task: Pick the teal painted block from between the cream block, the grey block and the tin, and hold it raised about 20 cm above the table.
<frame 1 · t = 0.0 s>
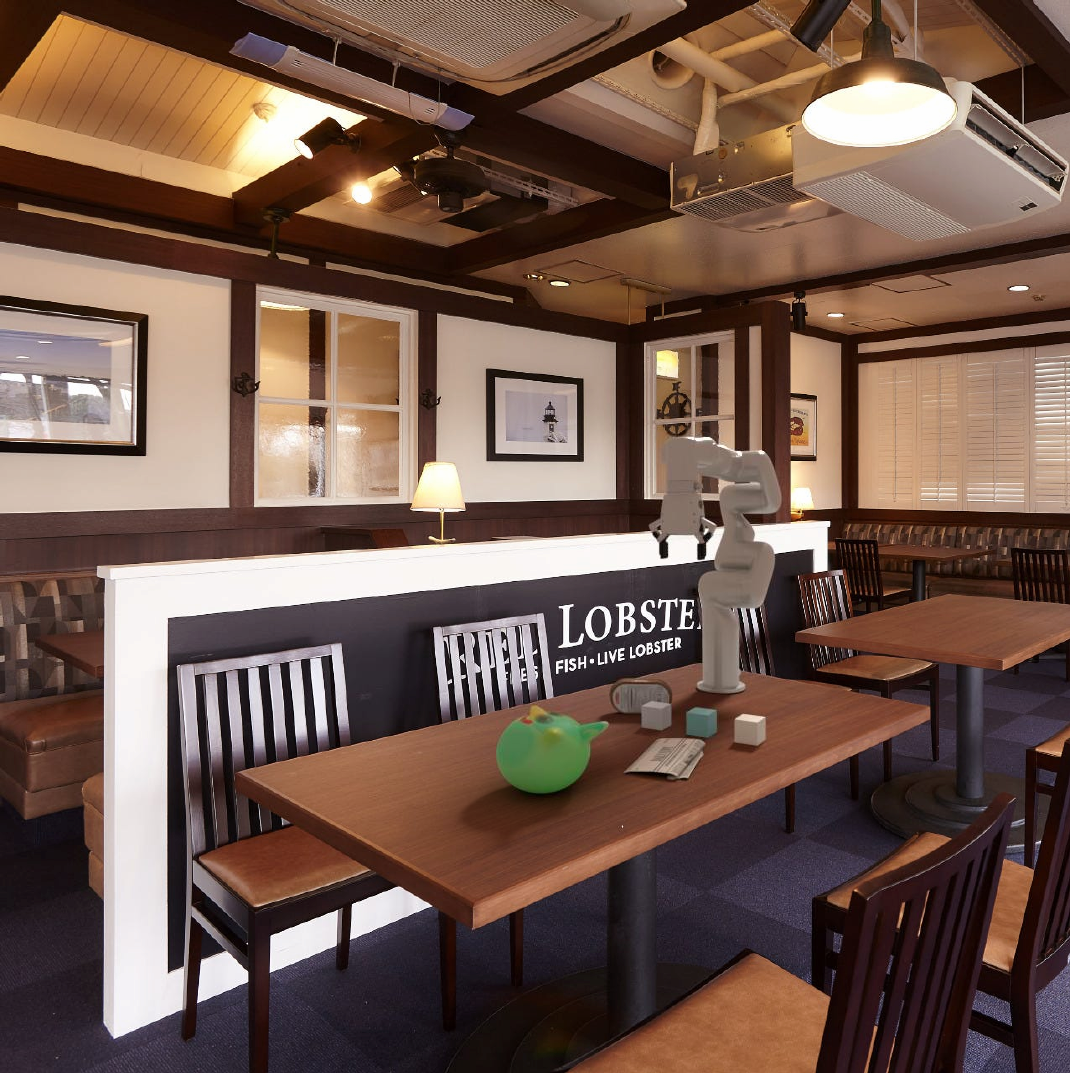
hand: (682, 559, 206), 37 cm above the table, fingers open, 9 cm apart
cream block: (750, 741, 181), on the table
tin: (641, 714, 205), on the table
teal block: (701, 733, 187), on the table
grey block: (656, 726, 194), on the table
toy bird: (546, 790, 154), on the table
newspaper: (671, 764, 170), on the table
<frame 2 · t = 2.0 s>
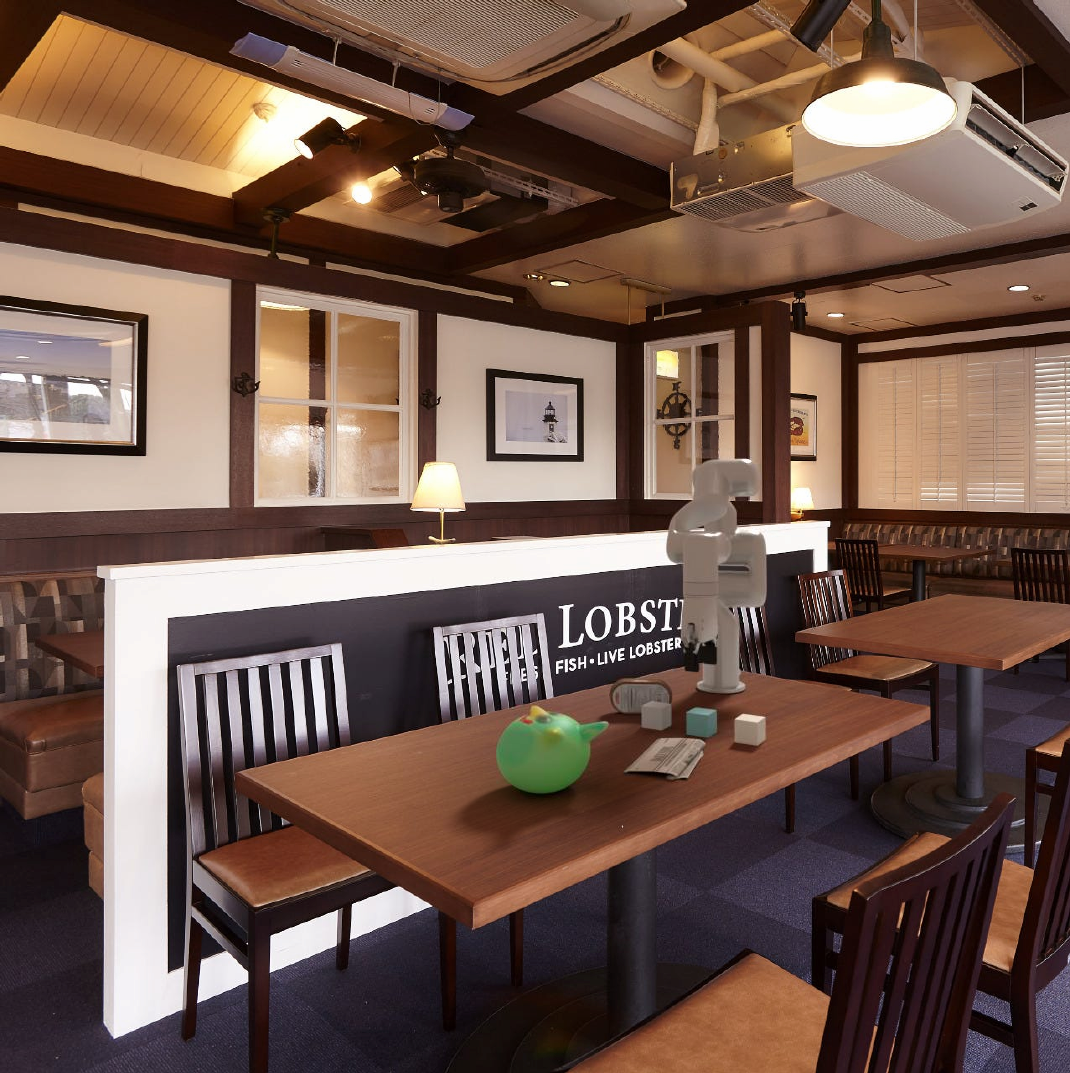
hand: (701, 667, 186), 15 cm above the table, fingers open, 9 cm apart
nothing on the table moved.
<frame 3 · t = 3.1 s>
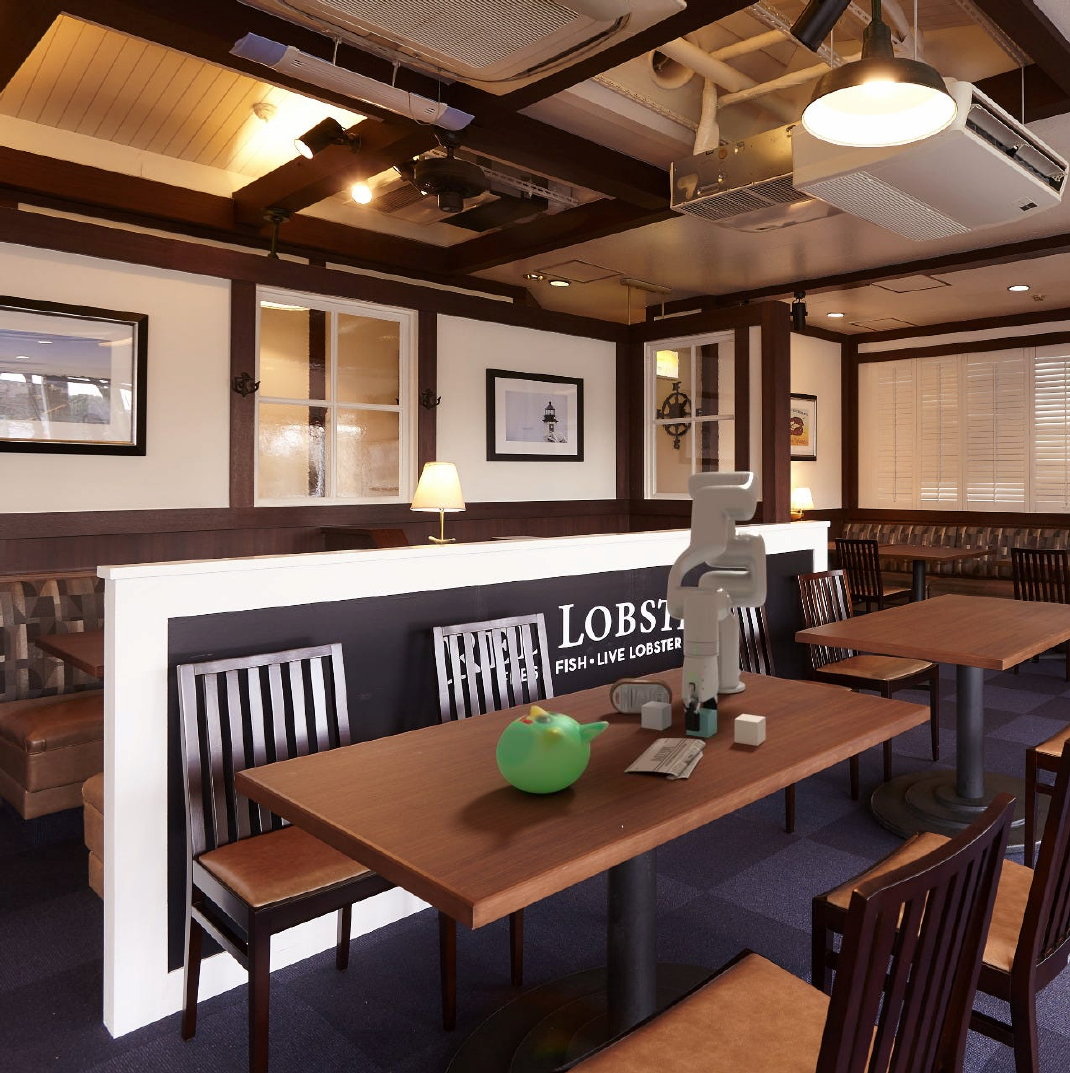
hand: (701, 725, 187), 2 cm above the table, fingers open, 9 cm apart
nothing on the table moved.
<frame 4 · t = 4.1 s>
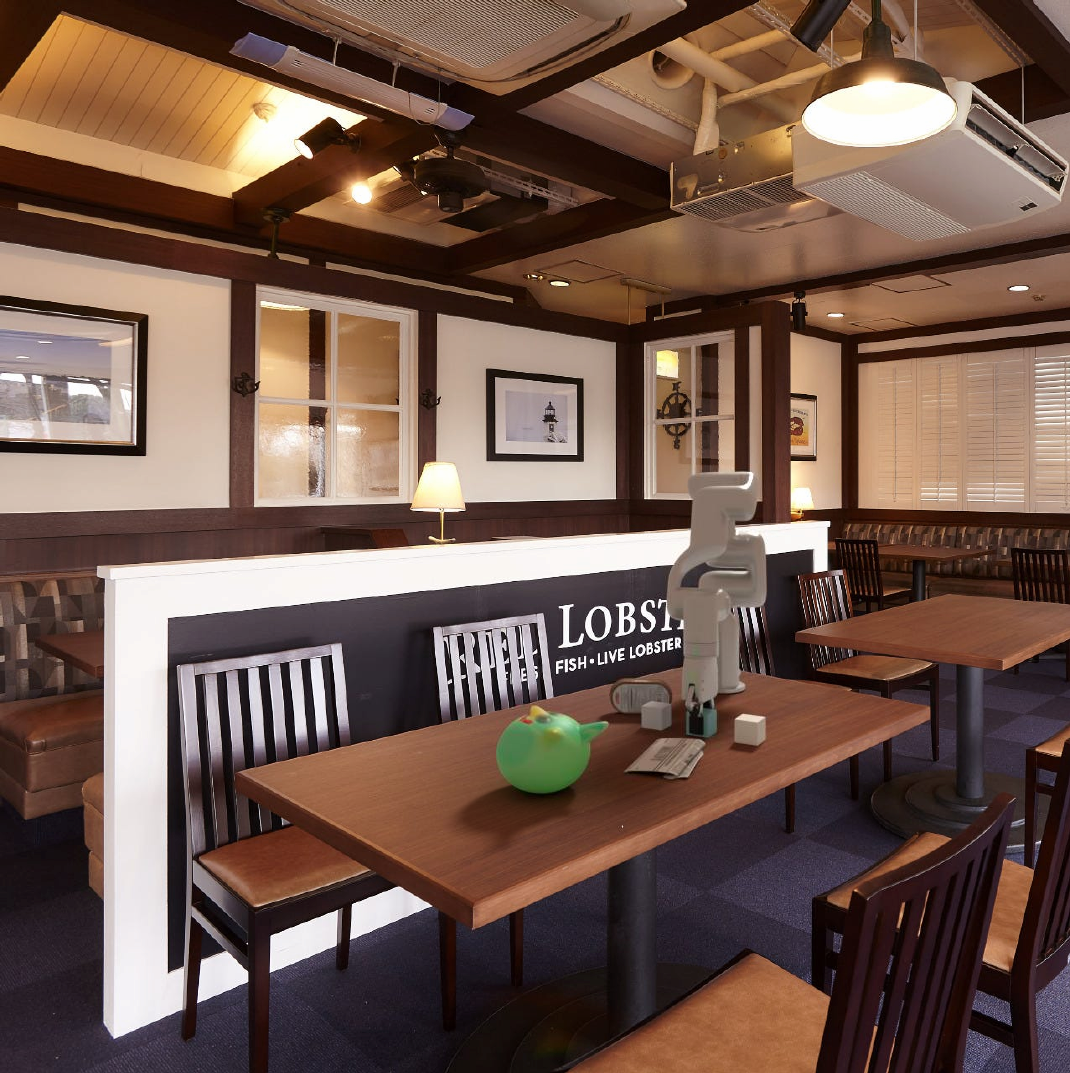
hand: (701, 730, 187), 1 cm above the table, fingers closed on teal block, 4 cm apart
teal block: (701, 733, 187), on the table, touching gripper
everything else where it was.
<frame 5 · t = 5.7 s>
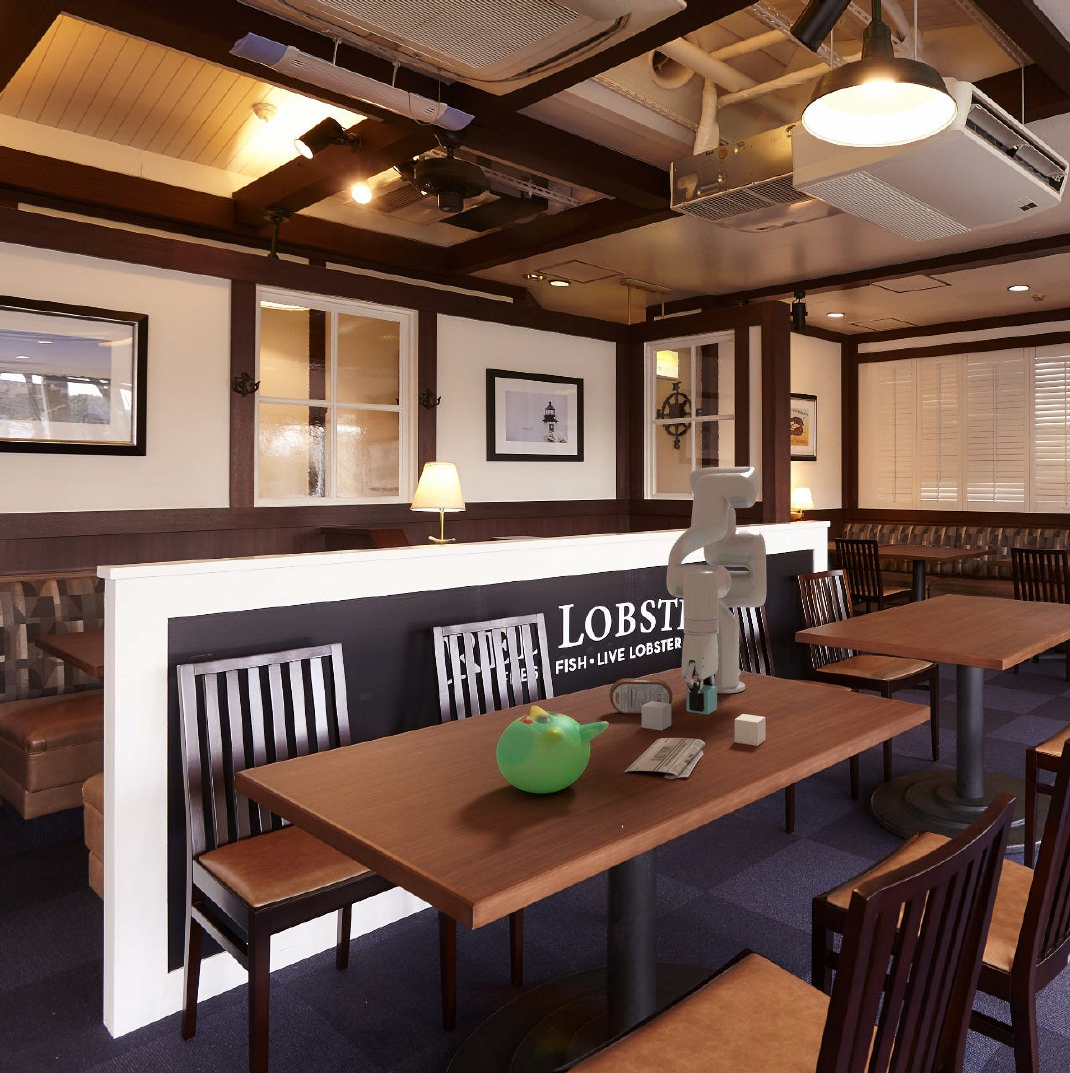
hand: (701, 706, 187), 6 cm above the table, fingers closed on teal block, 4 cm apart
teal block: (701, 710, 188), point 5 cm above the table, touching gripper
everything else where it was.
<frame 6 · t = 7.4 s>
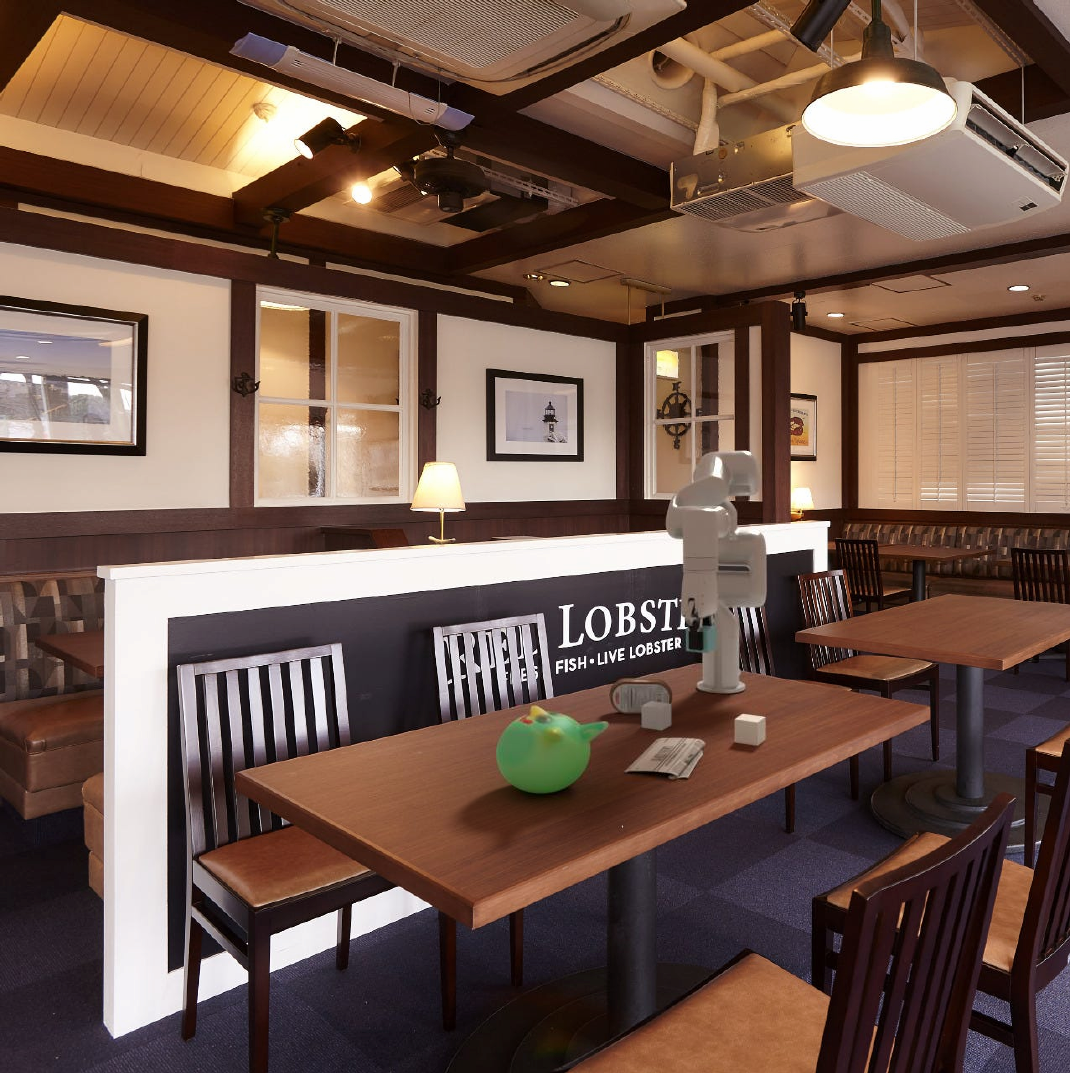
hand: (701, 646, 186), 19 cm above the table, fingers closed on teal block, 4 cm apart
teal block: (701, 650, 187), point 18 cm above the table, touching gripper
everything else where it was.
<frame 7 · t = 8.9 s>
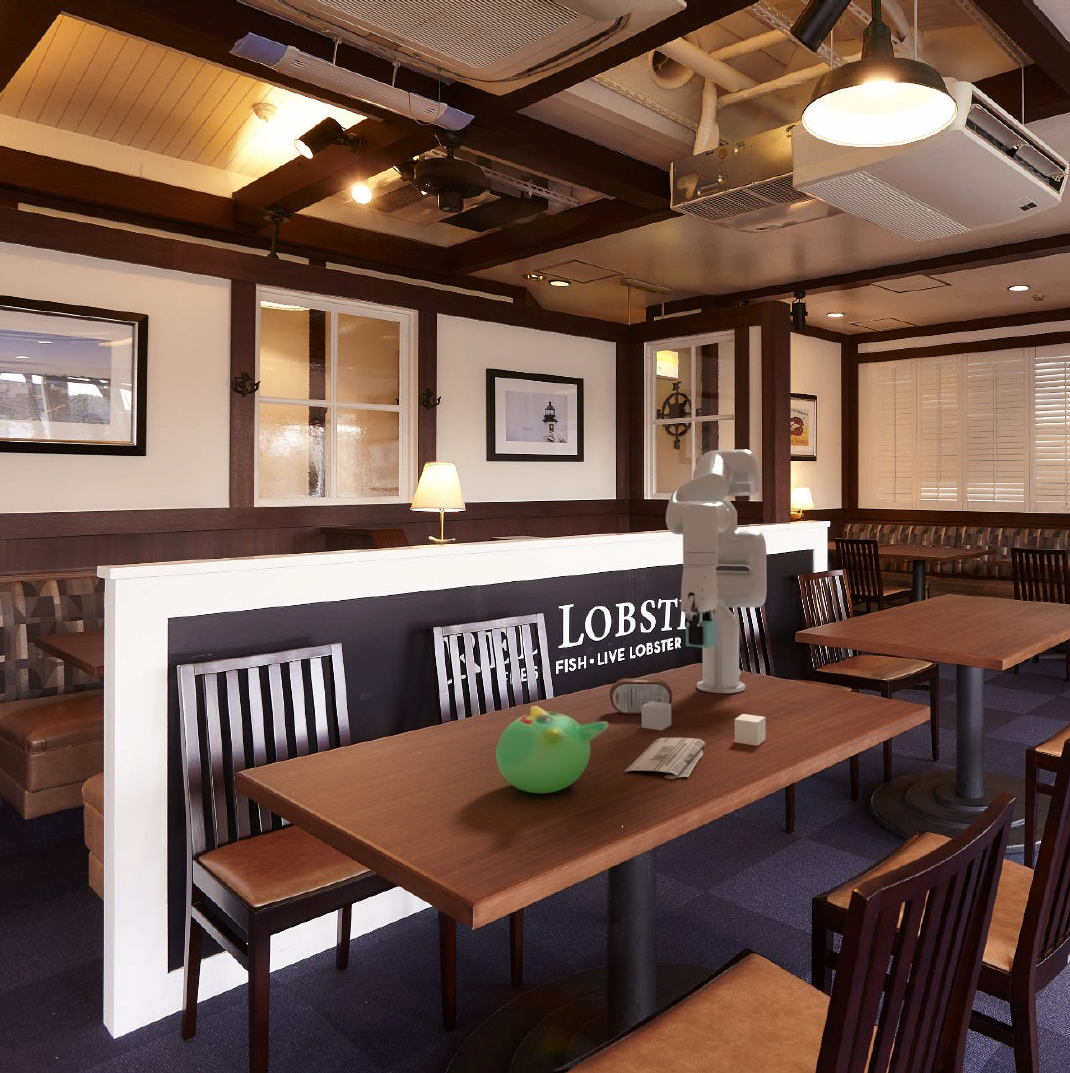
hand: (701, 641, 186), 20 cm above the table, fingers closed on teal block, 4 cm apart
teal block: (701, 645, 186), point 20 cm above the table, touching gripper
everything else where it was.
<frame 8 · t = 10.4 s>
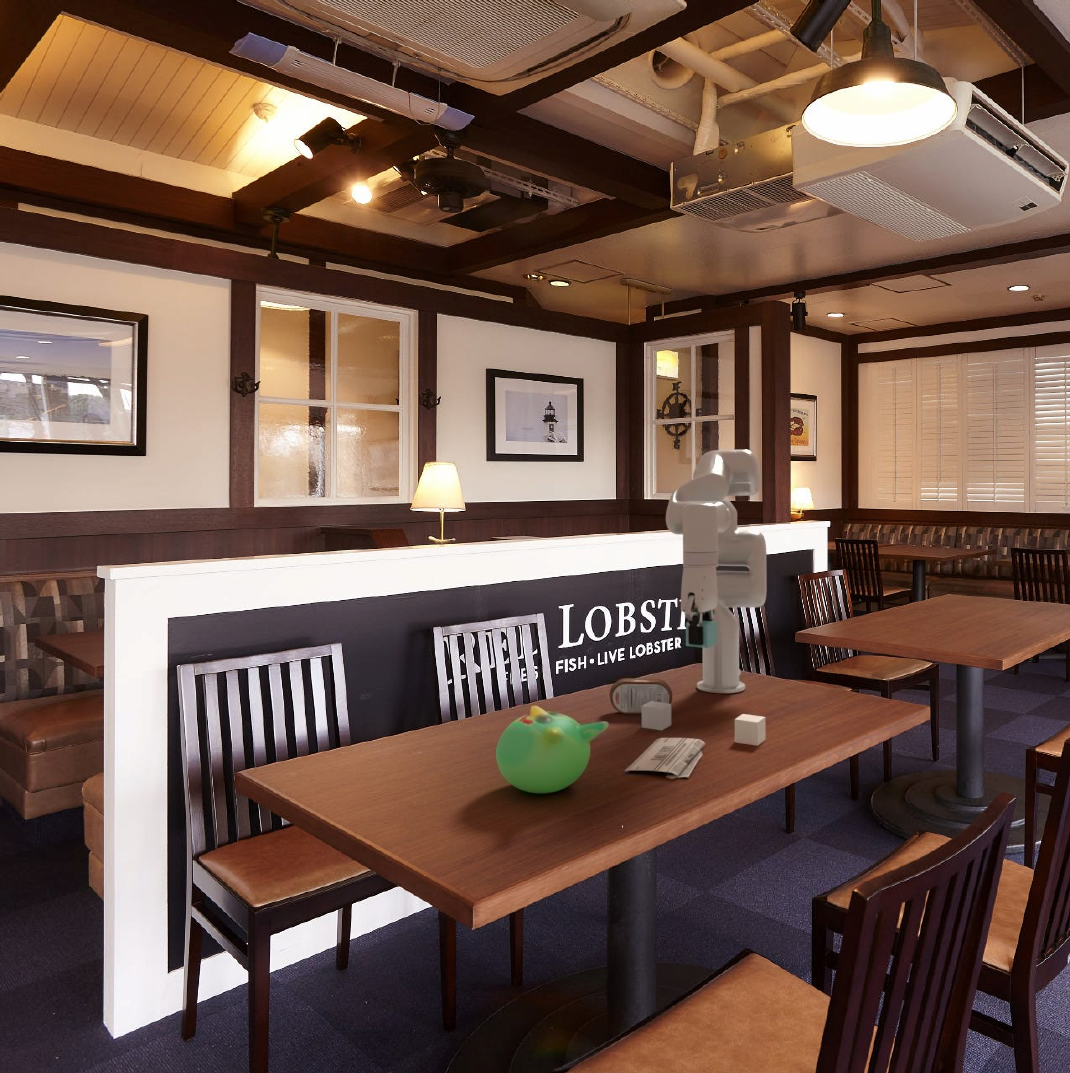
hand: (701, 641, 186), 20 cm above the table, fingers closed on teal block, 4 cm apart
teal block: (701, 645, 186), point 20 cm above the table, touching gripper
everything else where it was.
at the end: the gripper is holding teal block; teal block point 19.6 cm above the table; cream block moved 0.1 cm from its start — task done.
